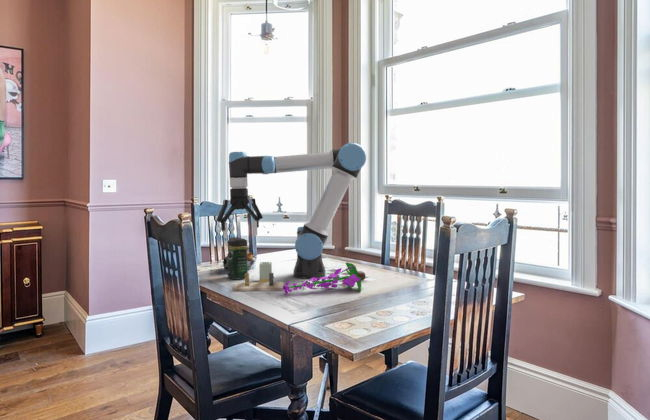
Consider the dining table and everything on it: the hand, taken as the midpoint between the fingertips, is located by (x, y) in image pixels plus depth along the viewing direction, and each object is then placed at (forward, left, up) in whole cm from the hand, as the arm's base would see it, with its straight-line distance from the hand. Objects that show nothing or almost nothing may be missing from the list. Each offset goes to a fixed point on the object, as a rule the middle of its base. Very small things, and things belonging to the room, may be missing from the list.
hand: (240, 236), depth 185 cm
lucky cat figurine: (+3, -24, -20) cm, 32 cm away
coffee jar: (+2, -8, -20) cm, 22 cm away
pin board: (-9, +11, -20) cm, 24 cm away
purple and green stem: (-36, +19, -21) cm, 45 cm away
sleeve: (-11, -1, -20) cm, 23 cm away
